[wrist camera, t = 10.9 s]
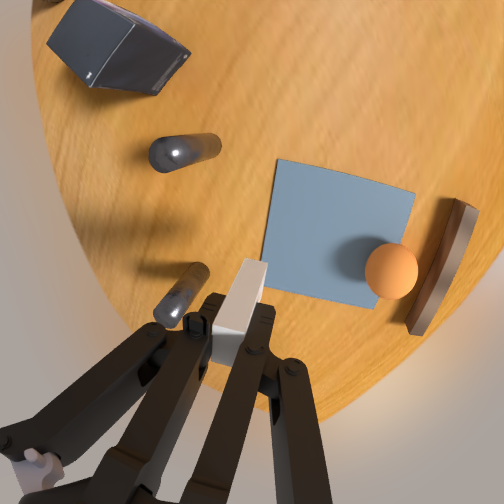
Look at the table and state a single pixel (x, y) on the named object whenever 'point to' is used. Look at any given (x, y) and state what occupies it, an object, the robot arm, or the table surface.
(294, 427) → the robot arm
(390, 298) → the ball
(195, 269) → the post
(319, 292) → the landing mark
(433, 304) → the stopper wall
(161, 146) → the post
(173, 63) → the small box
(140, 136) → the table surface
